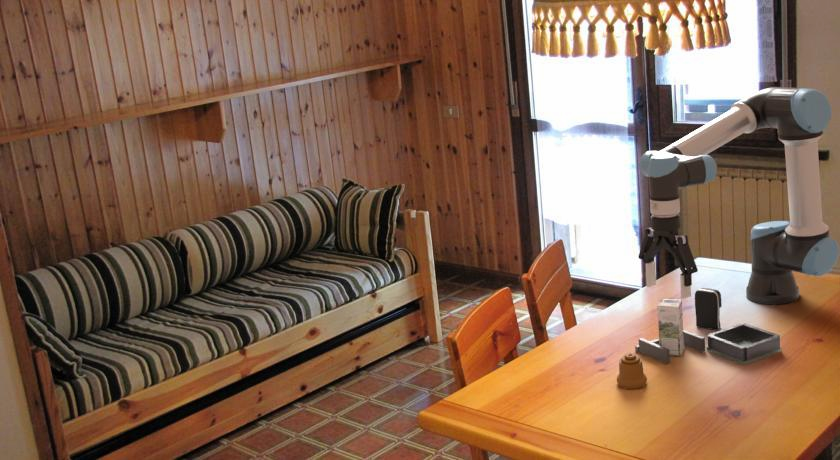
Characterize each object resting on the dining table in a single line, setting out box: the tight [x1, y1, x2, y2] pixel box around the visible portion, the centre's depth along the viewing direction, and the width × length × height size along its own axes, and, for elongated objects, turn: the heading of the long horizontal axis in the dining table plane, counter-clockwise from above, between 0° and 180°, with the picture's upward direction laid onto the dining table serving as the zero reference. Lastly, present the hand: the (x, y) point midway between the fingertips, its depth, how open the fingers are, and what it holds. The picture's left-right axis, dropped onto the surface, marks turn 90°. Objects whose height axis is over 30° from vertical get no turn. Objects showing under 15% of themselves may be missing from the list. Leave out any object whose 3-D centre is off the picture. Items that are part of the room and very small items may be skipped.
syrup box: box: [656, 298, 685, 357], centre depth 251 cm, size 6×6×14 cm
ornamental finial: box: [616, 353, 648, 390], centre depth 235 cm, size 8×8×8 cm
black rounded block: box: [694, 287, 722, 331], centre depth 266 cm, size 7×4×11 cm, turn 46°
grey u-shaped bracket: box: [634, 328, 706, 365], centre depth 253 cm, size 13×13×4 cm
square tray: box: [705, 322, 783, 366], centre depth 247 cm, size 13×13×4 cm
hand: (668, 291), depth 248 cm, fingers open, 13 cm apart
